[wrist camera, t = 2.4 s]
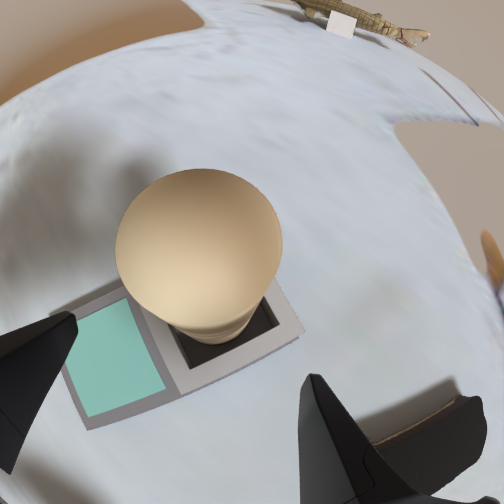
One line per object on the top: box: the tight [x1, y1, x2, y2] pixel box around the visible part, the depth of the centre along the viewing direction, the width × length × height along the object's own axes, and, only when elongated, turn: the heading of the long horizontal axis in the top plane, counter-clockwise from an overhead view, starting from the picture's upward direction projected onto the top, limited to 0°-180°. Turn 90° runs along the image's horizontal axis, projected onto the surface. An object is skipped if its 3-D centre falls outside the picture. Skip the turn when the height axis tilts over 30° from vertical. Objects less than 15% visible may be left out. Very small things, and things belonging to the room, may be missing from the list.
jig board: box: [61, 277, 306, 431], centre depth 17 cm, size 18×9×4 cm, turn 118°
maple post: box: [115, 169, 283, 345], centre depth 13 cm, size 5×5×12 cm
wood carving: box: [291, 0, 430, 48], centre depth 40 cm, size 9×35×11 cm, turn 66°
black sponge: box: [372, 395, 487, 496], centre depth 14 cm, size 16×8×4 cm, turn 99°
